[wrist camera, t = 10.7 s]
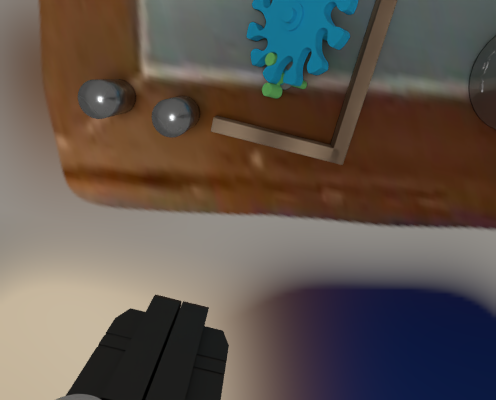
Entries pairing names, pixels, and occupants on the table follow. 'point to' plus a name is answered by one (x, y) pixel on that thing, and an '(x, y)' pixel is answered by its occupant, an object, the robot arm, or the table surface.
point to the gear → (295, 39)
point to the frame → (349, 109)
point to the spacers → (123, 100)
